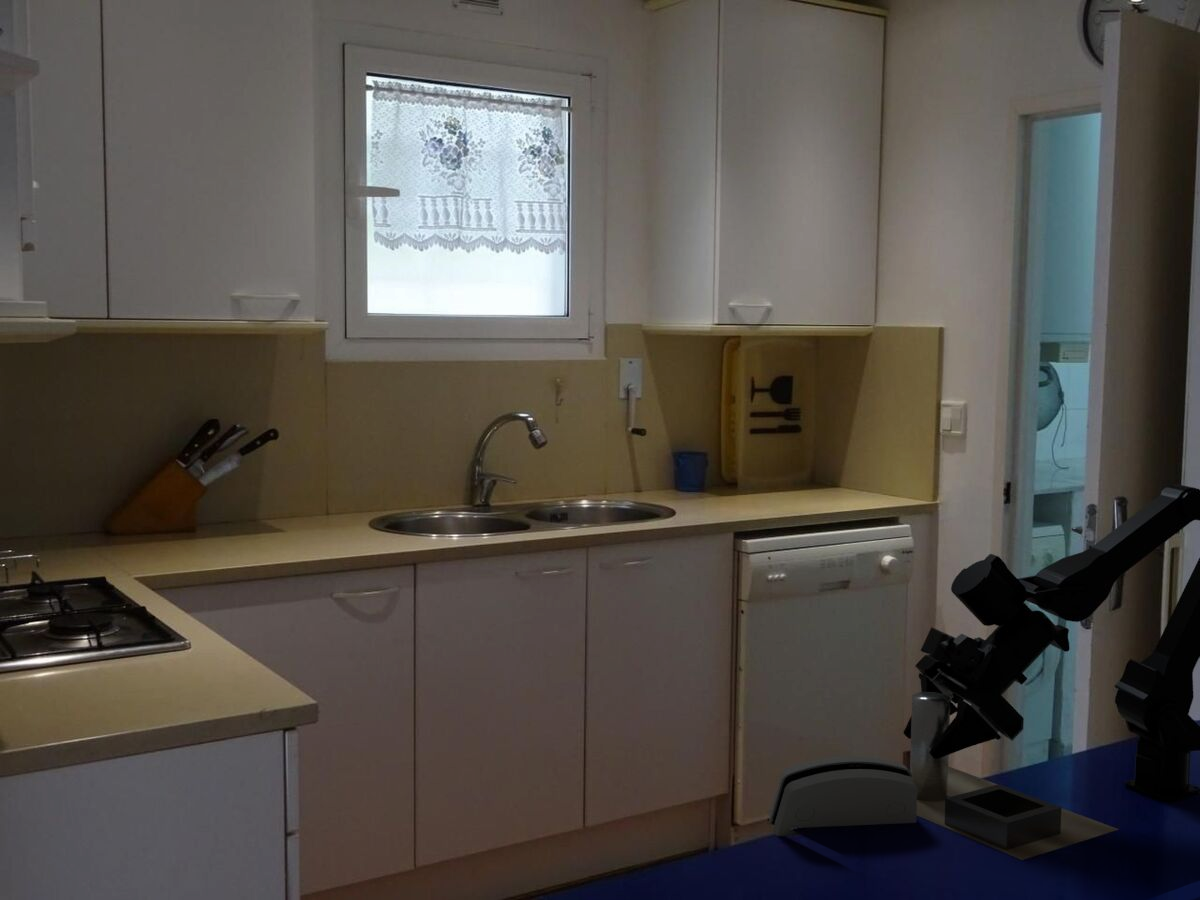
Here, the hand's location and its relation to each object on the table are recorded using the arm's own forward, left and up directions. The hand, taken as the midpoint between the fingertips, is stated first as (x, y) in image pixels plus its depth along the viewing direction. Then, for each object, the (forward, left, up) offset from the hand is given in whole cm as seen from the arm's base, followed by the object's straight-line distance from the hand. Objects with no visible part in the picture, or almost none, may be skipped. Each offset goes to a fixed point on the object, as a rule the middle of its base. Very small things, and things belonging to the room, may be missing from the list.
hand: (918, 746), depth 160 cm
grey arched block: (+13, +1, -8) cm, 15 cm away
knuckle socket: (0, +13, -6) cm, 14 cm away
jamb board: (-3, +7, -7) cm, 10 cm away
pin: (-1, +1, -6) cm, 6 cm away
